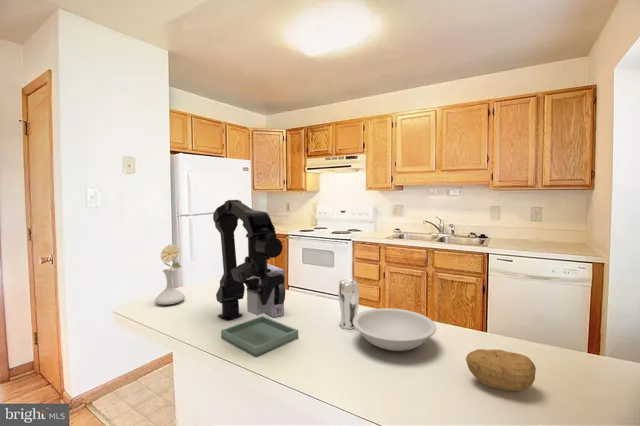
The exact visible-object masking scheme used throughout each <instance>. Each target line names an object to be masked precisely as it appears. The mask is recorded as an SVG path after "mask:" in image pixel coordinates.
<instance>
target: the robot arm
mask: <svg viewBox="0 0 640 426" xmlns="http://www.w3.org/2000/svg"><path fill="white" fill-rule="evenodd" d="M212 214H213V216H212V220H213V222H214V227H215V229H216V230H217V231H218V232H219V234H220V243H221V244H220V245H221V254H222V255H221V256H222V268H223V274H222V275H221V276H222V277H221V279H220V280H219V288H218V290H217V292H216V294H215V297H216V301H217V303H220V304H221V313H219V314H218V317H219V318H221V319H222V320H225V321H230V320H233V319H236V318H240V317H242V316H243V314H242V313H241V312H240V306H239V304H240V302H239V301H240V300H244V296H245V290H246V289H247V288H250V287H254V286H258V287H259V288H260V289H261V299H262V305H266V303H267V301H268V299H269V297H270V294H271V292H272V290H273V288H274V287H275V286H276V285H280V284H283V283H284V284H285V283H286V281H285V279H286V278H285V276H284V275H283V274H280V273H276V272H274V273H270V274H267V273H269V272H270V269H268V268H267V264H268V260H270V259H271V258H273V259H274V258H277V257H279V256H280V255H281V254H282V251H283V243H282V241H281V240H280V238H278V237H277V233H276V228H275V226H274V224H273V222H272V219H271V216H270V215H269V214H268V213H267V211H261V210H254V209H253V208H251V207H249V206H248V205H246V204H245V203H243V202H242V200H240V199H228V200H225V202H224V203H223V204H222V205H220V206H218V207H216V209H215V210H214V212H213V213H212ZM239 220H240V221H241V222H242V227H243V228H244V229H245V230H246V235H245V238H247V253H248V255H247V256H245V257H244V262H243V263H241V264H239V265H237V255H236V254H237V253H236V252H237V251H236V243H235V242H236V241H235V232H236V229H237V227H238V224H239ZM260 279H261V283H262V284H259V280H260ZM245 286H246V287H245Z"/></svg>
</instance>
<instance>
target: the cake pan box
mask: <svg viewBox="0 0 640 426" xmlns="http://www.w3.org/2000/svg"><path fill="white" fill-rule="evenodd" d="M267 268H268V269H270V272H269V273H267V274H270V273H274V272H276V273H280V274H283V275H284V276H285V275H286V274H285V273H286V271H285V269H282V268H280V267H278V266H275V265H274V264H273V265H272V264H269V263H267ZM259 284H262V283H261V279H260V280H259ZM285 285H286V284H285V283H283V284H280V285H276V286H275V287H274V288H273V290H272V292H271V294H270V311H269V312H266V313H265V314H267V315H268V316H270V317H272V318H273V319H275V318H279V317H282V316H284V315H285V311H284V310H285V300H286V286H285Z"/></svg>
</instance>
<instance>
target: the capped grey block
mask: <svg viewBox="0 0 640 426" xmlns="http://www.w3.org/2000/svg"><path fill="white" fill-rule="evenodd" d="M246 299H247V301H246V305H247V308H246V309H247V312H248V313H251V314H253V315H255V316H259V315H262V314H267V313H266V312H269V311H270V297H269V299H268V301H267V303H266V305H262V299H261V289H260V288H259V287H258V286H254V287H250V288H247V287H246Z"/></svg>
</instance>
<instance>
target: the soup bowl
mask: <svg viewBox="0 0 640 426" xmlns="http://www.w3.org/2000/svg"><path fill="white" fill-rule="evenodd" d="M353 326H354V327H355V329H356V331H358V332H359V333H360V334H361V335H362V337H363V338H364V339H365V340H366V341H367V342H369V343H370V344H371V345H373V346H375V347H377V348H380V349H383V350H387V351H395V352H403V351H409V350H412V349H416V348H418V347H419V346H422V344H424V342H426V341H427V340H428V338H430V337H432V336H433V335H434V334H436V331H437V325H436V323H435V322H434V320H433V319H431V318H430V317H428V316H426V315H424V314H422V313H419V312H415V311H412V310H407V309H402V308H391V307H390V308H387V307H386V308H385V307H383V308H373V309H369V310H368V309H367V310H363V311H361V312H359V313H357V315H356V316H355V317H354V318H353Z"/></svg>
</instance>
